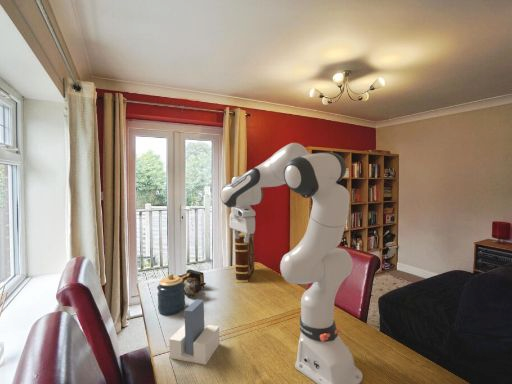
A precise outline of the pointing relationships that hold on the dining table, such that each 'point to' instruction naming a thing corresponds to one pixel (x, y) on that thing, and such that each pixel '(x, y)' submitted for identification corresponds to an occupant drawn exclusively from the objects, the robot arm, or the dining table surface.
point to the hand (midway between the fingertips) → (241, 240)
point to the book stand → (195, 345)
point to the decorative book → (244, 258)
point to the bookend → (193, 282)
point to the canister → (171, 295)
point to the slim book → (193, 324)
